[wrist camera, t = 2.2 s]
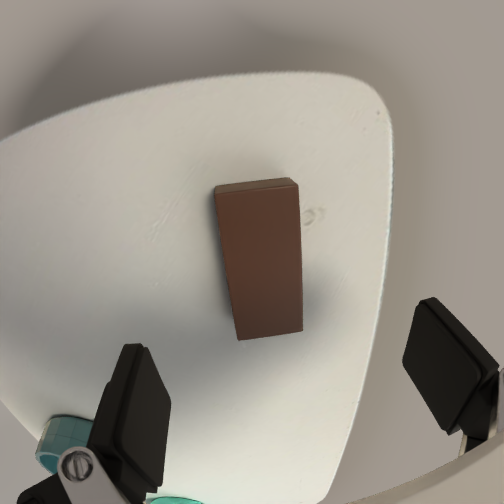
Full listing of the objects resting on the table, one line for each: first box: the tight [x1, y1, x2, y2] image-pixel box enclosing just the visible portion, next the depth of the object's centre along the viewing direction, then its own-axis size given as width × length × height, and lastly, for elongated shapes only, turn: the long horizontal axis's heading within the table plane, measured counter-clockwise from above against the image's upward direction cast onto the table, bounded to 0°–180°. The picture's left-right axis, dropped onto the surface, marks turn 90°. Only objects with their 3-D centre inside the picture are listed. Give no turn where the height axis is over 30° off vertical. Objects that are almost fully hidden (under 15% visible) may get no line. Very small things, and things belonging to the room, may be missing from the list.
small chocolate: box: [214, 178, 303, 341], centre depth 15 cm, size 8×4×2 cm, turn 6°
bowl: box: [35, 416, 93, 475], centre depth 21 cm, size 12×12×5 cm
